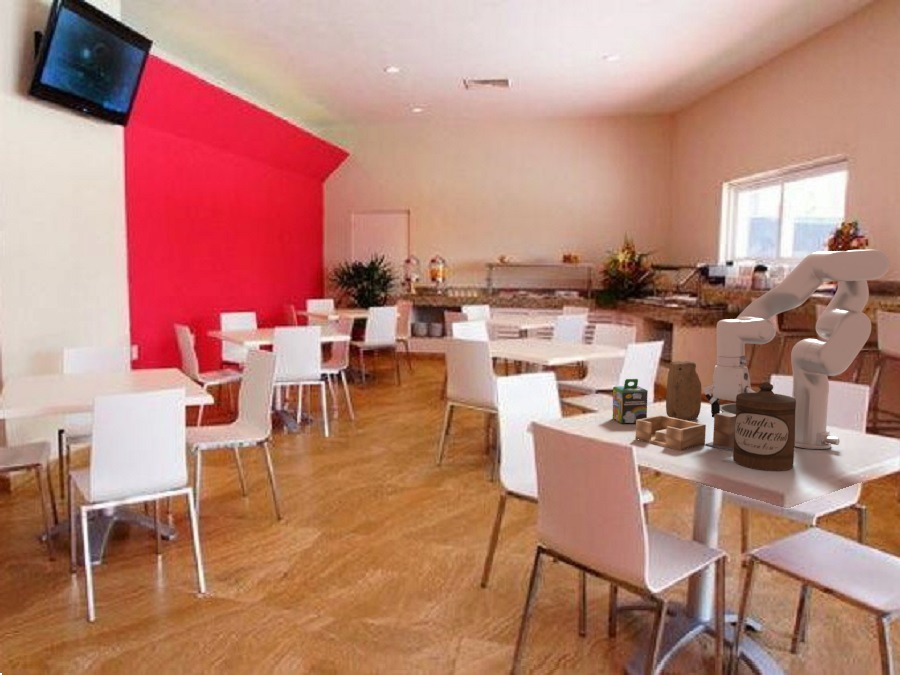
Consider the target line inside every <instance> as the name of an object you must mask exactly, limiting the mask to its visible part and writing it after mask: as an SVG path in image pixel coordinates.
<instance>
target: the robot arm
mask: <svg viewBox="0 0 900 675" xmlns="http://www.w3.org/2000/svg"><path fill="white" fill-rule="evenodd" d="M890 265H891V261H890V258H889V256H888V255H887V253H885V251H882V250H879V249H851V250H846V251H845V250H839V251H838V250H836V251H835V250H834V251H832V250H831V251H830V250H829V251H827V250H826V251H815V252H812V253H809V254H807V256H806V257H804V258H803V259H802V260H800V262H799V264H797V265H796V266H795V268H794V269H793V270H792V271H791V272H790V273H789V274H788V275H787V276H786V277H785V278H784V279H783V280H782V281H781V282H780V283H779V284H778V285H777V286H775V287H774V288H772V289H769V290H768V291H767V292H766V293H764V294H762V295H761V296H759V297H758V298H756V299H755V300H753V301H752V302H751V303H750V304H749V305H747V306H746V307H745V308H744V310H743V311H741V312H740V313H739V315H738V316H737V317H736V318H734V319H733V318H730V319H726V318H725V319H721V320H719V321H717V323H716V365H715V366H714V370H713V374H712V384H710V385H708V386H705V387H703V388H702V391H703V392H704V395H705V397H706V399H707V400H708V401H709V402H708V403H709V404H711V405H710V409H711V410H710V412H711V417H712V418H714V414H718V413H721V411H720V406H721V404H720V402H719V401H720V400H722V401H731V402H736V396H737V395H738V394H741V393H753V392H756V391H755V390H753V389H752V388H751V378H750V373H749V372H750V371H749V369H748V366H746V365H748V364H749V359H748V358H746V356H745V352H746V350H745V345H746V344H751V345H754V344H755V345H764V344H767V343H769V342H771V341H772V340H773V339H774V338H775V336H776V335H777V330H776V327H775V324H774V323H773V322H772V321H770V319H771V318H774V316H776V315H779V314H781V313H784V312H787V311H790V310H793V309H796V308H798V307H800V306H802V305H803V304H804V303H806V301H807V300H808V299H809V298H810V297H811V296H812V294H814V293H815V292H816V290H818V289H819V288H820V287H821V286H822V285H823V283H825V282H837V289H836V291H835V294H834V296H833V297H832V299H831V300H830V301H829V303H828V305H827V306H826V308H825V309H824V310H823V312H822V313H821V314H820V315H819V318H818V319H817V321H816V322H815V332H816V333H817V334H818V336H819V337H821V338H823V339H825V340H823V339H816V338H803V339H802V340H799V341H798V342H797V343H795V344H794V345H793V347H792V350H791V354H790V361H791V368H792V391H791V392H792V394H791V397H793V398H795V399H796V410H795V447H794V448H801V449H808V450H826V449H830V448H831V447H832V445H835V446H839V445H840V437H836V436H831V434H830V432H831V431H830V430H827V423H828V422H827V421H828V409H829V408H828V407H829V406H828V405H829V394H830V384H829V378H828V376H831V377H833V376H835V377H836V376H838V375H842V374H843V373H844V372H845V371H846V370H847V369H848V368H849V367H850V366H851V365H852V364H853V362H854V360H855V359H856V357H857V356H858V355H859V353H860V352H861V350H862V349H863V347H864V346H865V344H866V343H867V342H868V340H869V338H870V336H871V332H872V321H871V319H870V317H869V316H868V315H867V314H865V313H864V312H863V311H864V308H865V307H866V305H867V303H868V302H869V296H870V289H869V285H868V281H874V280H878V279H880V278H882V277H884V276H885V275H886V274H887V273H888V271H889V270H890V267H891V266H890ZM711 390H712V391H711Z"/></svg>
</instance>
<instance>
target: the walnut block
mask: <svg viewBox="0 0 900 675" xmlns="http://www.w3.org/2000/svg"><path fill="white" fill-rule="evenodd" d="M735 419H736V414H731V413H726V412H722V411H721V412H720V413H718V414H714V417H713V438H712V442H713V444H715V445H719V446H723V447H728V448H729V447H733V446H734V431H735Z"/></svg>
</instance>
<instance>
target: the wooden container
mask: <svg viewBox="0 0 900 675" xmlns="http://www.w3.org/2000/svg"><path fill="white" fill-rule="evenodd" d="M758 389H759V391H758V392H756V391H755V392H753V393H741V394H738V395H737V396H736V401H735V403H736V419H735V431H734V450H732V451H733V454H732V459H733V462H734V463H736V464H738V465H740V466H743V467H745V468H750V469H753V470H754V469H755V470H759V471H771V472H773V471H774V472H775V471H776V472H779V471H787V470H790V469H792V468H794V461H795V460H794V458H795V448H796V447H795V410H796V399H795V398H793V397H792V396H790V395H785V394H781V393H780V394H779V393H774V391H773V390H774V385H773V384H771V383H770V382H762V383H760V384H759V386H758Z"/></svg>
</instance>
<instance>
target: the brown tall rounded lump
mask: <svg viewBox="0 0 900 675" xmlns="http://www.w3.org/2000/svg"><path fill="white" fill-rule="evenodd" d="M696 368H697V365H696V363H695V361H689V360H686V361H682V360H681V361H680V360H679V361H671V362H669V364H668V369H669V370H668V373H667V382H666V395H665V413H666V415H667V417H672V418H677V419H681V420H686V421H690V420H696V419H697V418H699V416H700V413H701V407H702V391H703V388H702V382H701V380H700V377H699V375H698V373H697V370H696Z"/></svg>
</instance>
